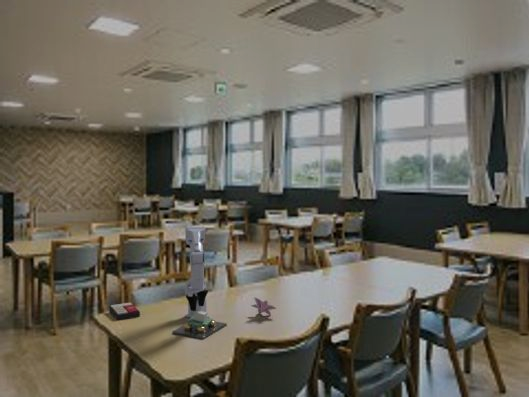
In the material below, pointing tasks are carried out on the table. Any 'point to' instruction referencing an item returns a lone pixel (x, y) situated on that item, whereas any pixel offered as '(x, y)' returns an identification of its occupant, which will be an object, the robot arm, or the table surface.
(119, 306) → the grey and red box
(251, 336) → the table surface
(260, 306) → the lily
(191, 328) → the chassis
